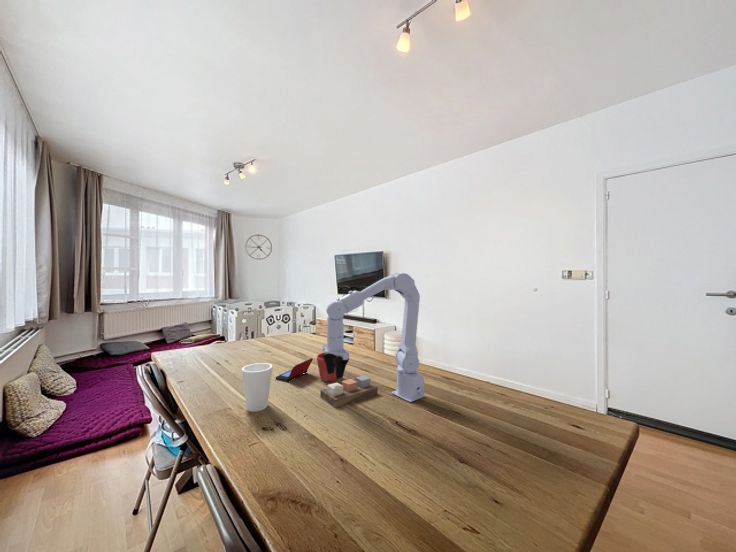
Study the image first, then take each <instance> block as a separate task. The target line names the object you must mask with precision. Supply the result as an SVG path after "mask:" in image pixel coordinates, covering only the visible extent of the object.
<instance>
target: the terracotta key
mask: <svg viewBox="0 0 736 552" xmlns="http://www.w3.org/2000/svg"><path fill="white" fill-rule="evenodd" d="M341 384H342V386H343V390H345V391H347V392H350V391H353V390H357V382H356V381H355V380H354V379H352V378H348V379H344V380H341Z"/></svg>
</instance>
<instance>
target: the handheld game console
mask: <svg viewBox="0 0 736 552" xmlns="http://www.w3.org/2000/svg"><path fill="white" fill-rule="evenodd" d="M312 361H314V359H313V358H312V357H311V358H309V359H306V360H305V361H303V362H300V363H298V364H296V365H294V366H293V367H292V369H290V370H288V371H285V372H284V373H282V374H279V375H276V376H275V378H276V379H279V380H278V381H280V380H283V381H282V382H285V381H287V382H286V383H290V382H291V380H292V379H294V378H296V377H297V378H299V377H298V376H300V375H302V374H303V373H306V372H307V373H308V370H309V367H310V366H311V364H312ZM307 373H306V374H307ZM302 376H303V375H302ZM300 377H301V376H300ZM297 378H296V379H297ZM276 379H275V380H276ZM294 380H295V379H294ZM289 381H290V382H289ZM292 381H293V380H292Z"/></svg>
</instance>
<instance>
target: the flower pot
mask: <svg viewBox="0 0 736 552" xmlns="http://www.w3.org/2000/svg"><path fill="white" fill-rule="evenodd" d="M323 353H324V352H321V353H319V354H317V355H316V361H317V367H318V372H319V377H320V380H321V379H322V380H324V381H323V382H327V381H331V382H334V380H335V381H338V380H337V378H336V370H334V373H332V374H328V372H327V368H326V364H325V361H324V359H323V357H322V354H323ZM336 358H338V356H337V357H336ZM322 380H321V381H322Z"/></svg>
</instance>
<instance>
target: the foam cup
mask: <svg viewBox="0 0 736 552" xmlns="http://www.w3.org/2000/svg"><path fill="white" fill-rule="evenodd" d="M273 371H274V370H273V365H272V364H271V363H267V362H258V363H257V362H256V363H252V364H247V365H245V366H242V368H241V372H240V373H241V379H242V386H243V392H244V400H245V406H246V410H247V412H252V413H253V412H255V413H256V412H259V411H263V410H265V409H267V407H268V404H269V398H270V391H271V390H270V389H271V382H272V375H273Z"/></svg>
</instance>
